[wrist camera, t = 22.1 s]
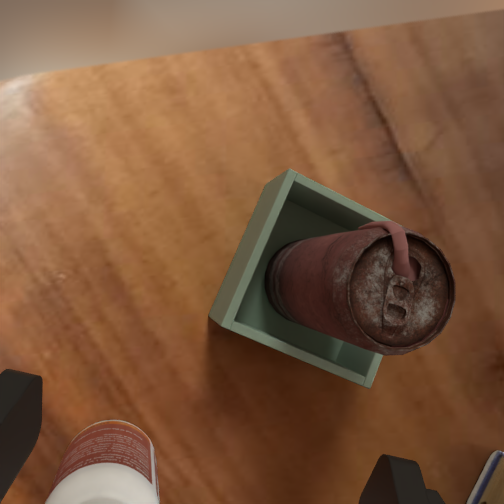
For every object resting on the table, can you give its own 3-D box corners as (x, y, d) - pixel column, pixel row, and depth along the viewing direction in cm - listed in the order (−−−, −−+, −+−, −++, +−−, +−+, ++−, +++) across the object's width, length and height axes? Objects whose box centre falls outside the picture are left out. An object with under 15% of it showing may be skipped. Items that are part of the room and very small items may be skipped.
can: (326, 227, 35) (442, 203, 22) (349, 307, 36) (478, 334, 22) (251, 249, 34) (324, 238, 20) (275, 333, 34) (363, 378, 21)
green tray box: (207, 316, 34) (220, 326, 28) (265, 183, 35) (289, 167, 30) (334, 369, 36) (370, 389, 30) (385, 242, 37) (428, 238, 32)
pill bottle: (45, 448, 31) (-7, 545, 20) (130, 400, 33) (124, 467, 22) (89, 527, 32) (61, 662, 21) (171, 476, 33) (185, 580, 22)
